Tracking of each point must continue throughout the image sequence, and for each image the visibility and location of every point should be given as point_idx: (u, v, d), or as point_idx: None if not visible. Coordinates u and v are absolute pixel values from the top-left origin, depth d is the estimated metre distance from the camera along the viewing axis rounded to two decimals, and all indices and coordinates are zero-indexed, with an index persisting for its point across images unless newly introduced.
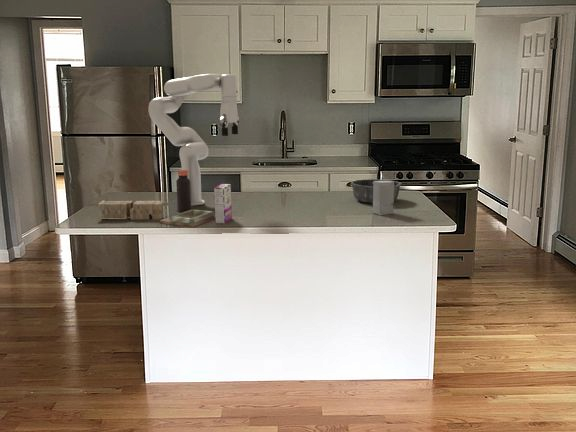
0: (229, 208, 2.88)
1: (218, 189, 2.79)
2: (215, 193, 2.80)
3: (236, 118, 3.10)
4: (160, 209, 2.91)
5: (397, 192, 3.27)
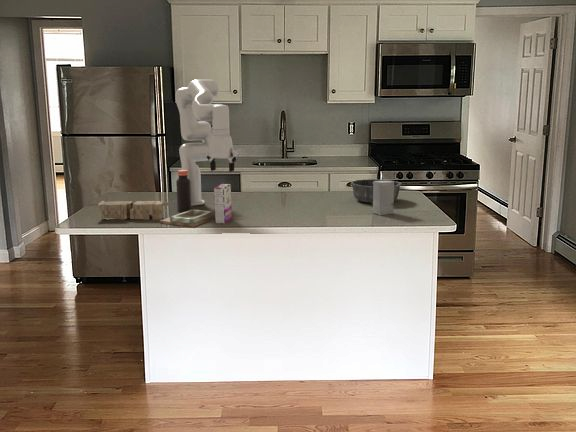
0: (229, 208, 2.88)
1: (218, 189, 2.79)
2: (215, 193, 2.80)
3: None
4: (160, 209, 2.91)
5: (397, 192, 3.27)
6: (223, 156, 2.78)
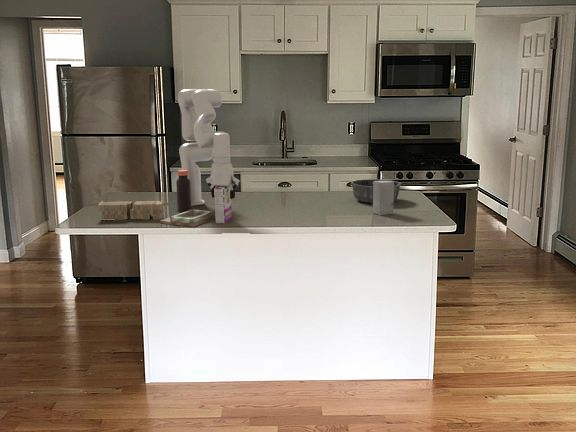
0: (229, 208, 2.88)
1: (218, 189, 2.79)
2: (215, 193, 2.80)
3: None
4: (161, 209, 2.91)
5: (397, 192, 3.27)
6: (224, 183, 2.80)
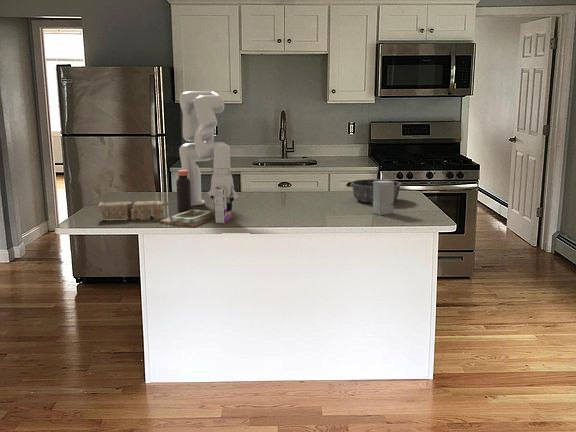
0: None
1: (218, 189, 2.79)
2: (215, 193, 2.80)
3: None
4: (162, 209, 2.92)
5: (397, 192, 3.27)
6: None
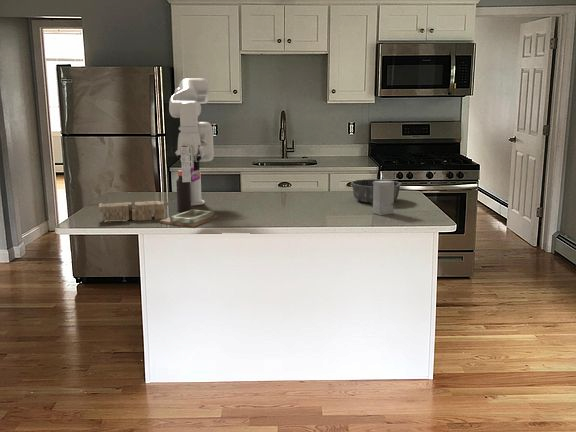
0: None
1: (184, 147, 2.75)
2: (182, 151, 2.76)
3: None
4: (163, 209, 2.92)
5: (397, 192, 3.27)
6: None
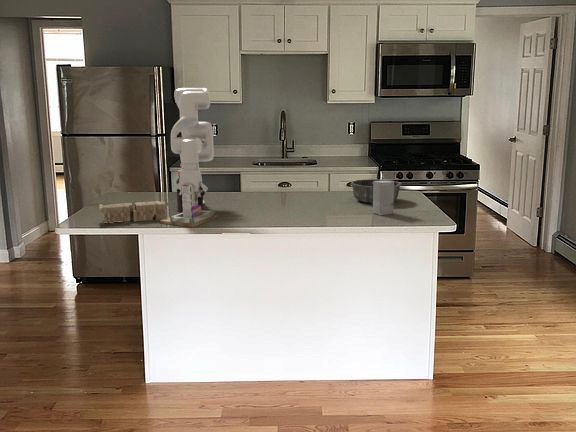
0: (198, 205, 2.88)
1: (185, 186, 2.80)
2: (183, 190, 2.80)
3: None
4: (164, 209, 2.92)
5: (397, 192, 3.27)
6: None
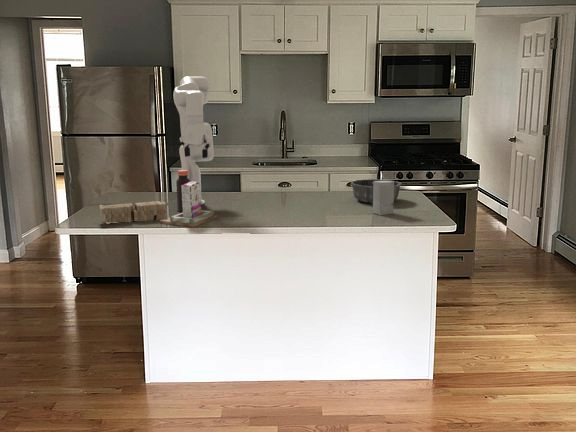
0: (198, 205, 2.88)
1: (185, 186, 2.80)
2: (182, 190, 2.80)
3: None
4: (165, 209, 2.92)
5: (397, 192, 3.27)
6: (196, 142, 2.82)
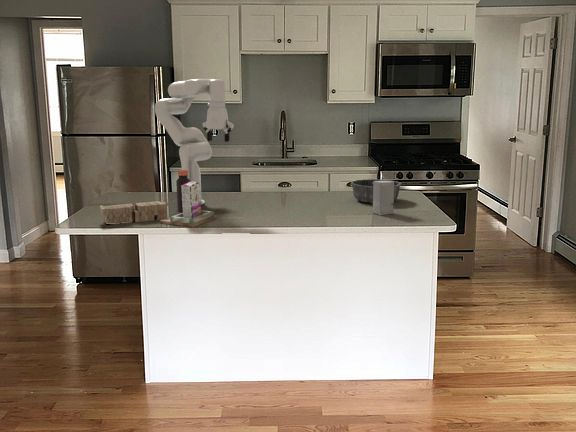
0: (198, 205, 2.88)
1: (185, 186, 2.80)
2: (182, 190, 2.80)
3: None
4: (165, 209, 2.92)
5: (397, 192, 3.27)
6: (219, 127, 2.99)
